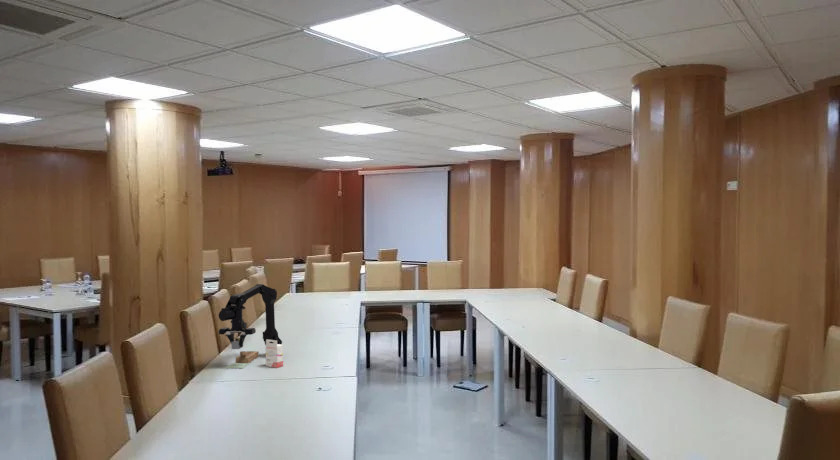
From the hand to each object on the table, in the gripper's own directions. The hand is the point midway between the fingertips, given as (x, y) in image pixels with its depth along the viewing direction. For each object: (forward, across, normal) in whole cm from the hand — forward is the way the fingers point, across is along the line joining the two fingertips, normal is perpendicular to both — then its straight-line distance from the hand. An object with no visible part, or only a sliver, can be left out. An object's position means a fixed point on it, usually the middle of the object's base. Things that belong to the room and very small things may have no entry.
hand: (237, 346), depth 310 cm
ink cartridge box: (+11, -20, -2) cm, 23 cm away
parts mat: (+11, 0, 0) cm, 11 cm away
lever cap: (+1, 0, 0) cm, 1 cm away
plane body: (+11, 0, -14) cm, 18 cm away
